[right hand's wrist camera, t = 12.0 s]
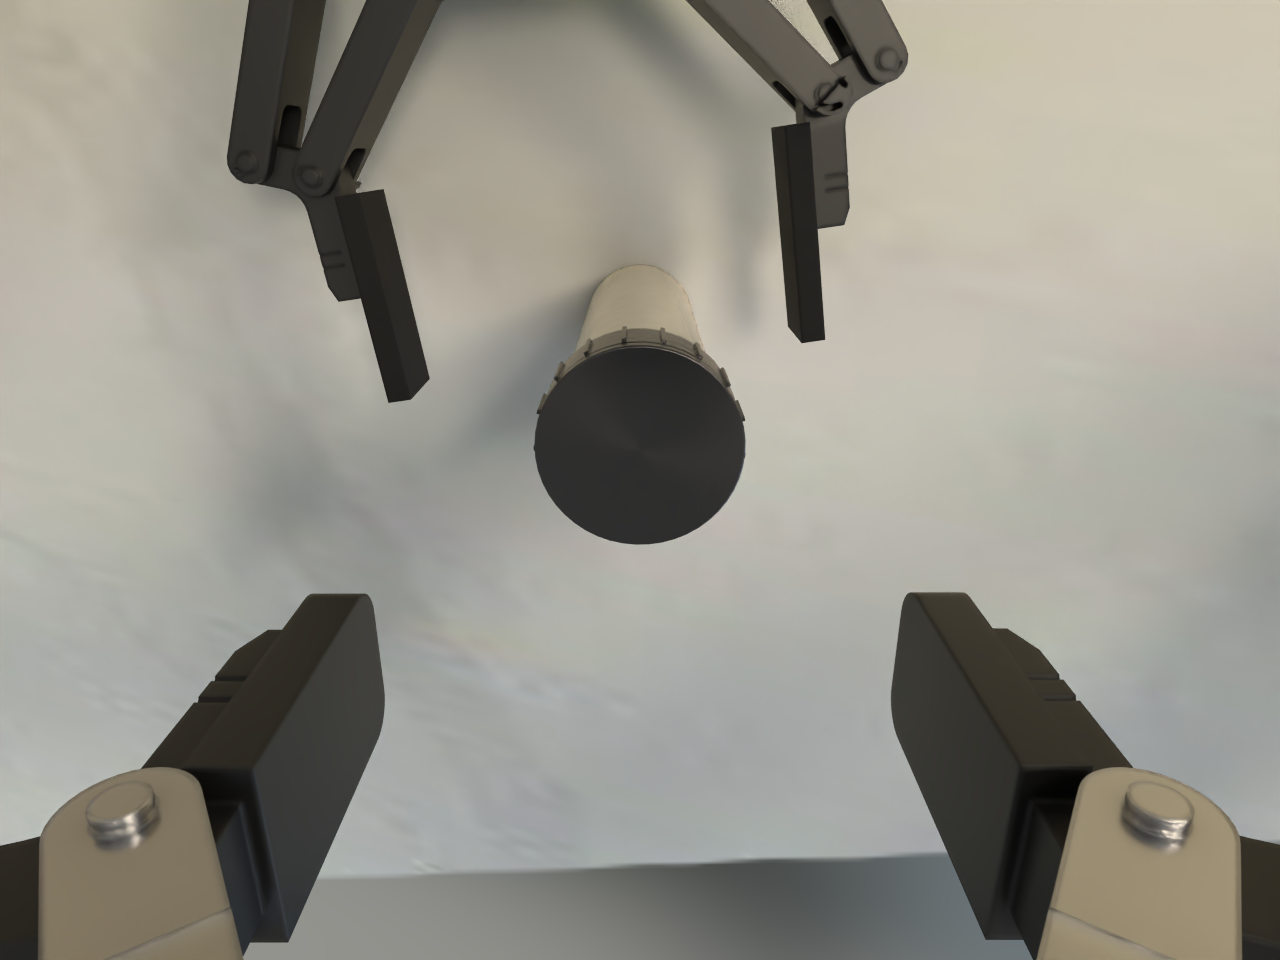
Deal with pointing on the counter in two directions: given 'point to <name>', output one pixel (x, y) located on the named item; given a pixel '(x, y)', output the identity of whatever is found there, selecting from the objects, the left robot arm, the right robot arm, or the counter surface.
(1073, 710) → the right robot arm
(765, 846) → the counter surface
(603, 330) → the jar
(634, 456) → the lid
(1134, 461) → the counter surface
